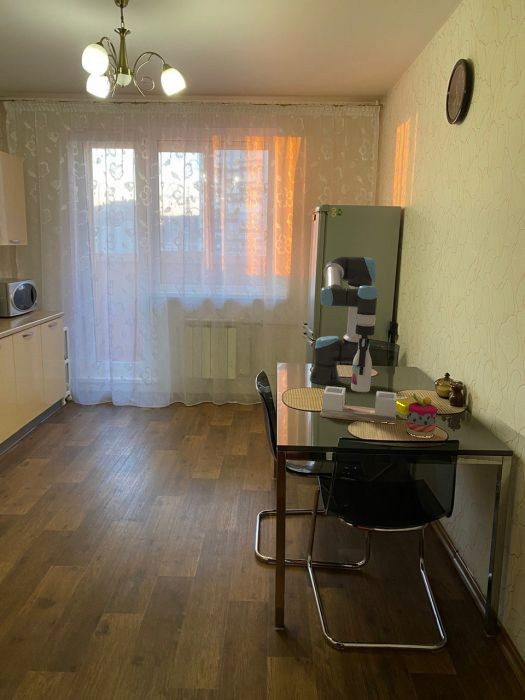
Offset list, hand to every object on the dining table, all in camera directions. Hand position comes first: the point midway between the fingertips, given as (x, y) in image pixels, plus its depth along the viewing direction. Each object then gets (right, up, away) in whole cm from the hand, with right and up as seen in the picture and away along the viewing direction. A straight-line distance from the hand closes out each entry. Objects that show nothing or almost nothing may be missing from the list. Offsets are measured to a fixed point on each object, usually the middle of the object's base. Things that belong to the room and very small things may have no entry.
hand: (361, 380), depth 216 cm
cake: (+19, -20, -17) cm, 32 cm away
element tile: (+24, -14, +14) cm, 32 cm away
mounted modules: (-1, -13, +3) cm, 13 cm away
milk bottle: (0, -4, +1) cm, 4 cm away
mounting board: (-1, -15, +3) cm, 15 cm away
